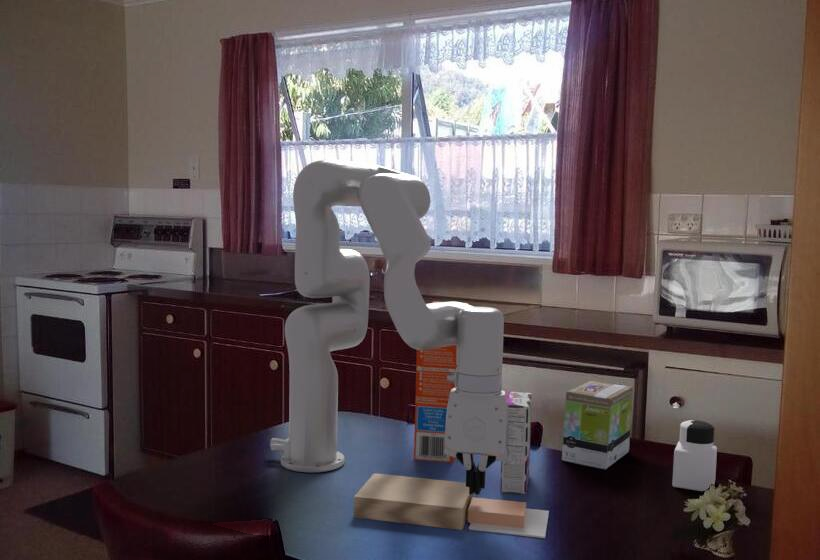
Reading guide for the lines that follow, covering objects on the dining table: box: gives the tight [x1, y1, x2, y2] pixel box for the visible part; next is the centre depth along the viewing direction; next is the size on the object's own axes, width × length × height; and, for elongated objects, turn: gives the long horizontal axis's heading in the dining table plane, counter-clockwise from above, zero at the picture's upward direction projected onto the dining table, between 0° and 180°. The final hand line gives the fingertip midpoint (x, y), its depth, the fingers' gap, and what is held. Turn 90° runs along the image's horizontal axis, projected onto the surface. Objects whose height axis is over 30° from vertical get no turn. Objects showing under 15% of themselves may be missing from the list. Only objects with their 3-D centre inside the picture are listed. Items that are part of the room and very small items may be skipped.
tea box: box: [561, 380, 634, 470], centre depth 163 cm, size 15×10×15 cm
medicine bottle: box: [671, 419, 718, 492], centre depth 147 cm, size 7×7×12 cm
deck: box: [353, 472, 475, 531], centre depth 131 cm, size 18×12×4 cm, turn 77°
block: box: [467, 496, 527, 528], centre depth 128 cm, size 9×6×2 cm, turn 78°
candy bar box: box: [500, 390, 532, 495], centre depth 145 cm, size 11×5×16 cm, turn 168°
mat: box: [468, 507, 550, 539], centre depth 128 cm, size 12×11×1 cm
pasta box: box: [413, 301, 469, 464], centre depth 168 cm, size 23×8×30 cm, turn 171°
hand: (475, 491), depth 129 cm, fingers closed
